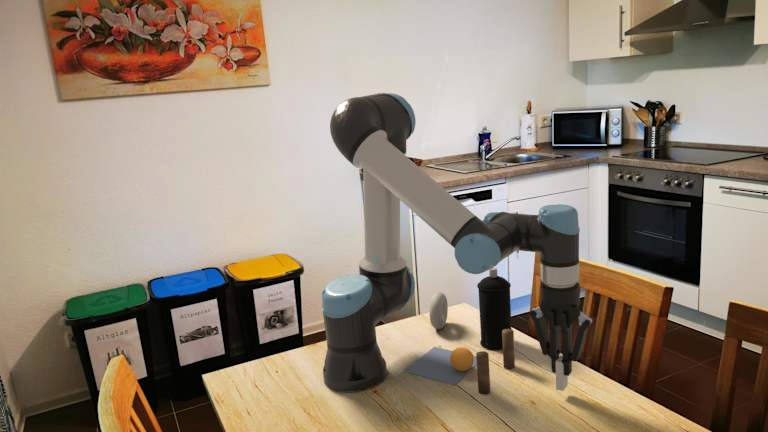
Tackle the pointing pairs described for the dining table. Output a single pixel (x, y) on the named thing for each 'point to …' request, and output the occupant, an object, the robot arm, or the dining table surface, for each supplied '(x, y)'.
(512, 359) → the post
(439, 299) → the donut
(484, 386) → the post
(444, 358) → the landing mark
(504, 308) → the aerosol can
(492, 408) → the dining table surface
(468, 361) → the ball
